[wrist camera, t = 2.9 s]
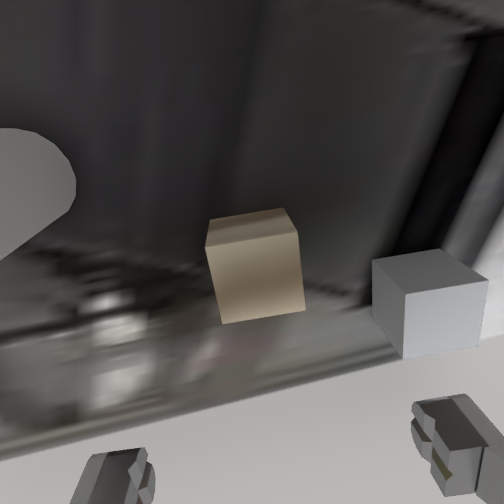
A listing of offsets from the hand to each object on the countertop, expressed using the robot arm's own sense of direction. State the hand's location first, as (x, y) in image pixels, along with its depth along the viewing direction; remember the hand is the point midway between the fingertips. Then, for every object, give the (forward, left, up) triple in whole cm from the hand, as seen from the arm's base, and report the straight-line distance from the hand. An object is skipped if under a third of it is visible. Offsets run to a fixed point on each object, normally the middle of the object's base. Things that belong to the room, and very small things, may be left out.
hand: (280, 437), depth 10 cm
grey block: (+5, +11, -14) cm, 19 cm away
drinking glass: (-7, -13, -14) cm, 21 cm away
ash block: (0, 0, -14) cm, 14 cm away
